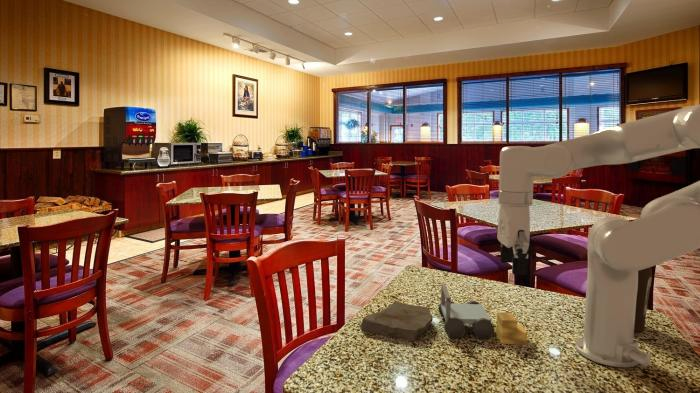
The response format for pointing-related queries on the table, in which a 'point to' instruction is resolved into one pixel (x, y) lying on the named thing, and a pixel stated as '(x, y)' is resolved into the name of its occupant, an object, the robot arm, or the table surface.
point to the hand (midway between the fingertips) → (512, 268)
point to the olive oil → (642, 298)
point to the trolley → (464, 317)
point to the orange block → (510, 330)
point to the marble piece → (399, 321)
